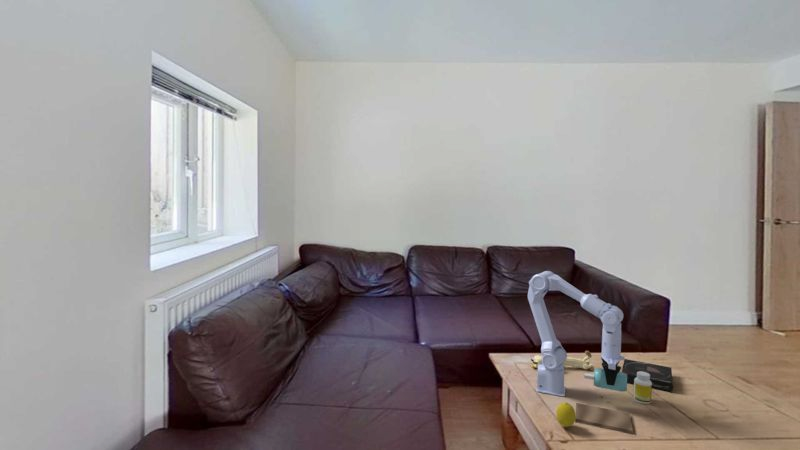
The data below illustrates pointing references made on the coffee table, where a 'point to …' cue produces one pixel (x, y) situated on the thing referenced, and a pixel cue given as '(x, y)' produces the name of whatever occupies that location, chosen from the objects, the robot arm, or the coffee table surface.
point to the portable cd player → (658, 374)
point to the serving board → (603, 418)
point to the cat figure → (568, 362)
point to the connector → (601, 382)
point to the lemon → (565, 414)
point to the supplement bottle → (642, 388)
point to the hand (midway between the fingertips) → (610, 381)
